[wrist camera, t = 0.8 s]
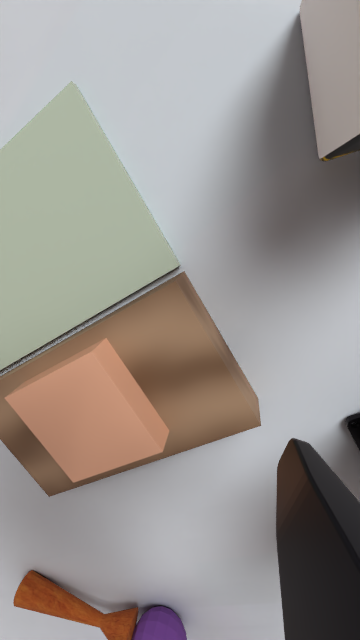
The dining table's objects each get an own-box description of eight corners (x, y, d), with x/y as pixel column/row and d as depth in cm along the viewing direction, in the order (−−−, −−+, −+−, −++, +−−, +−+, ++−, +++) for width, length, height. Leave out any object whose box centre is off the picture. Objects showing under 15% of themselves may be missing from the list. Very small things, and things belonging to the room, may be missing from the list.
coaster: (169, 430, 21) (162, 451, 19) (86, 461, 23) (73, 482, 21) (106, 337, 19) (92, 351, 17) (24, 382, 22) (4, 397, 20)
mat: (180, 264, 20) (178, 265, 19) (-9, 374, 26) (-13, 377, 26) (75, 84, 17) (71, 81, 17) (-105, 256, 24) (-111, 257, 23)
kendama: (4, 594, 32) (183, 672, 27) (42, 544, 37) (195, 603, 33) (3, 636, 33) (175, 718, 28) (40, 582, 38) (188, 643, 34)
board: (258, 398, 22) (260, 425, 19) (67, 468, 28) (49, 496, 26) (184, 271, 20) (175, 280, 17) (-5, 379, 26) (-34, 399, 23)
